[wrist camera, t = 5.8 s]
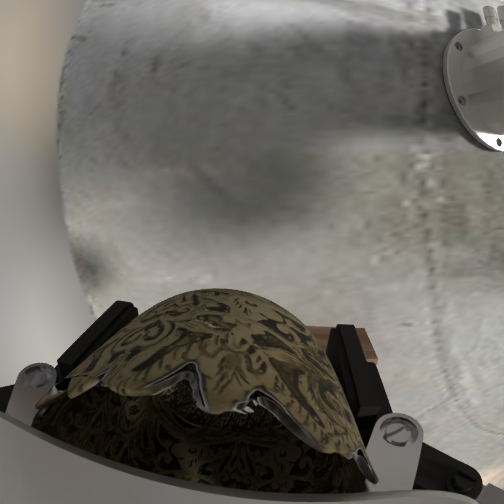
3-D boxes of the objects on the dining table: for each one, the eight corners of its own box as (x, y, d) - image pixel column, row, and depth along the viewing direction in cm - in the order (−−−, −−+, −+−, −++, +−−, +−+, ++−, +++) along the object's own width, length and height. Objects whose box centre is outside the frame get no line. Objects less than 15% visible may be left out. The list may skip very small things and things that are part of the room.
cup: (125, 251, 11) (-29, 373, 4) (321, 217, 10) (408, 373, 3) (179, 398, 14) (124, 541, 6) (337, 385, 13) (362, 552, 5)
